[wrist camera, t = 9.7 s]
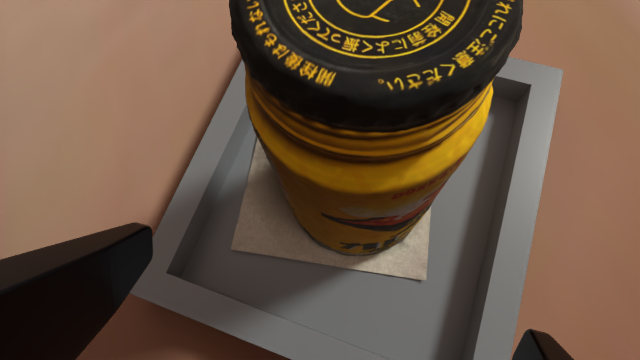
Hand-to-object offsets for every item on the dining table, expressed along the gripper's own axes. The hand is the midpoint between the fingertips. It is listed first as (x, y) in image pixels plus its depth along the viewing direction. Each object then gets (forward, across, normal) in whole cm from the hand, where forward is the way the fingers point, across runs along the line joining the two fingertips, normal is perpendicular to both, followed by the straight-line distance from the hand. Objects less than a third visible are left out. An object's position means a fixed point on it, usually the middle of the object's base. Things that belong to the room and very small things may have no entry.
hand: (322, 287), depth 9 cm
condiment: (+9, +1, +2) cm, 9 cm away
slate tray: (+10, 0, +2) cm, 10 cm away
